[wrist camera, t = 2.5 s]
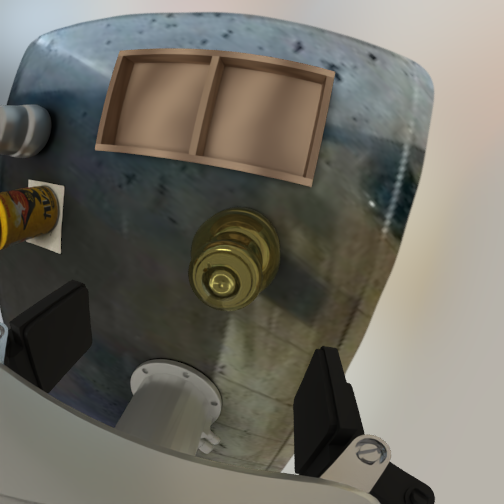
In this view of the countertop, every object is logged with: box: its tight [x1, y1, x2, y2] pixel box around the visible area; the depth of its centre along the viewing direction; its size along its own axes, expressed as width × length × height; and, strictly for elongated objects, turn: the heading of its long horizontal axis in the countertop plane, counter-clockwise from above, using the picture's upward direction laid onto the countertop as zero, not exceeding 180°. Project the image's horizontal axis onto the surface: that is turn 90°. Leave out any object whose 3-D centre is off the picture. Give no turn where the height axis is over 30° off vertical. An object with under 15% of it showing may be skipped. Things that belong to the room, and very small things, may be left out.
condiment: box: [0, 180, 64, 254], centre depth 22 cm, size 7×8×12 cm
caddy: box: [95, 49, 335, 187], centre depth 22 cm, size 20×10×4 cm, turn 78°
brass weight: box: [188, 207, 280, 311], centre depth 22 cm, size 7×7×10 cm
